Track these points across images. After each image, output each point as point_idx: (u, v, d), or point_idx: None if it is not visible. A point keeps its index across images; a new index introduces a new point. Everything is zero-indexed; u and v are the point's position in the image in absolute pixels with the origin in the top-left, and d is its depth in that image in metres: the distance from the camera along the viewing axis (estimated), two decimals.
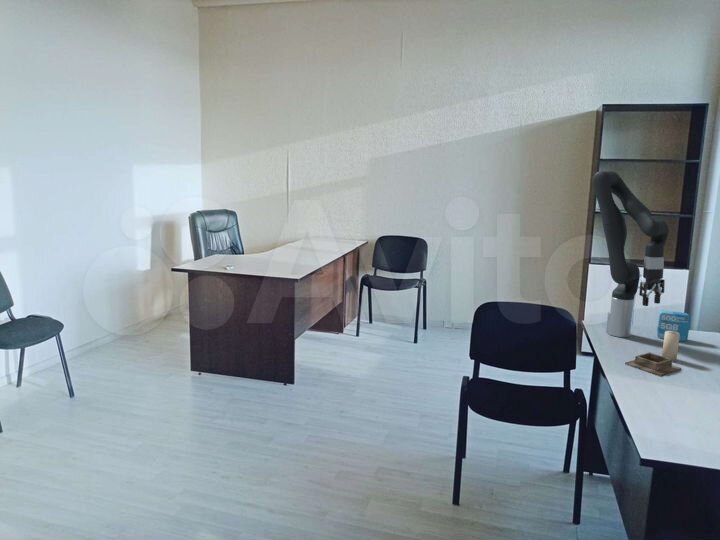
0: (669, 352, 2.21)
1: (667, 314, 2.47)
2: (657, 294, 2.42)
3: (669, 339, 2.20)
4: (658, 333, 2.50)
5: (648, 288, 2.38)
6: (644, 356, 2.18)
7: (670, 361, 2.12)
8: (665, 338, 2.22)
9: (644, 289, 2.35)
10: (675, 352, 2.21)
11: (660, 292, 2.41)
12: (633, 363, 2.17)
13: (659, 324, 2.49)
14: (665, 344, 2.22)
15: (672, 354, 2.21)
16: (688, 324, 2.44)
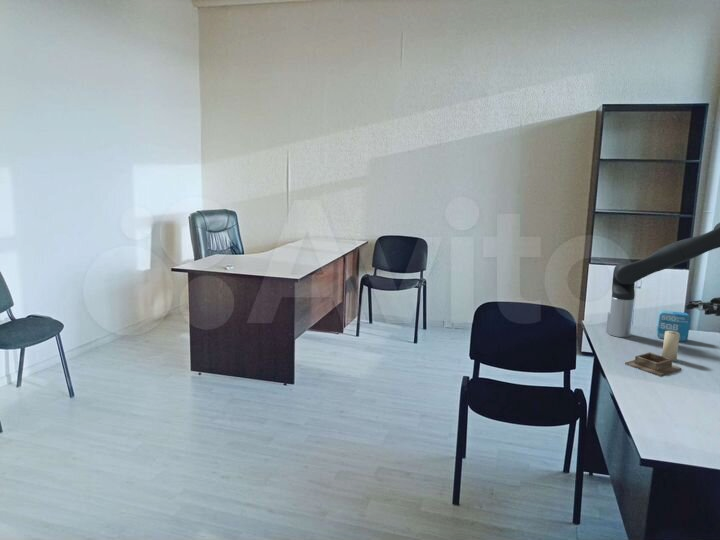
0: (669, 352, 2.21)
1: (667, 314, 2.47)
2: (694, 306, 2.29)
3: (669, 339, 2.20)
4: (658, 333, 2.50)
5: None
6: (644, 356, 2.18)
7: (670, 361, 2.12)
8: (665, 338, 2.22)
9: None
10: (675, 352, 2.21)
11: (694, 308, 2.30)
12: (633, 363, 2.17)
13: (659, 324, 2.49)
14: (665, 344, 2.22)
15: (672, 354, 2.21)
16: (688, 324, 2.44)
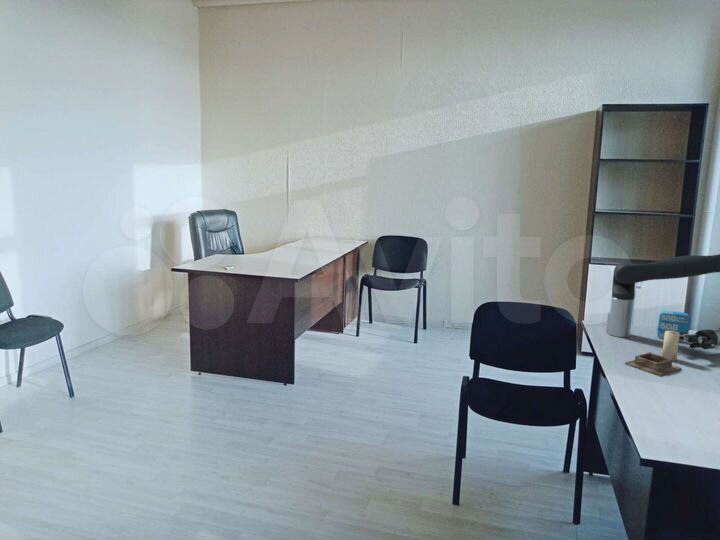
0: (669, 352, 2.21)
1: (667, 314, 2.47)
2: (679, 338, 2.30)
3: (669, 338, 2.20)
4: (658, 333, 2.50)
5: None
6: (644, 356, 2.18)
7: (670, 361, 2.12)
8: (665, 338, 2.22)
9: (709, 347, 2.21)
10: (675, 352, 2.21)
11: (680, 340, 2.31)
12: (633, 363, 2.17)
13: (659, 324, 2.49)
14: (665, 344, 2.22)
15: (672, 354, 2.21)
16: (688, 324, 2.44)
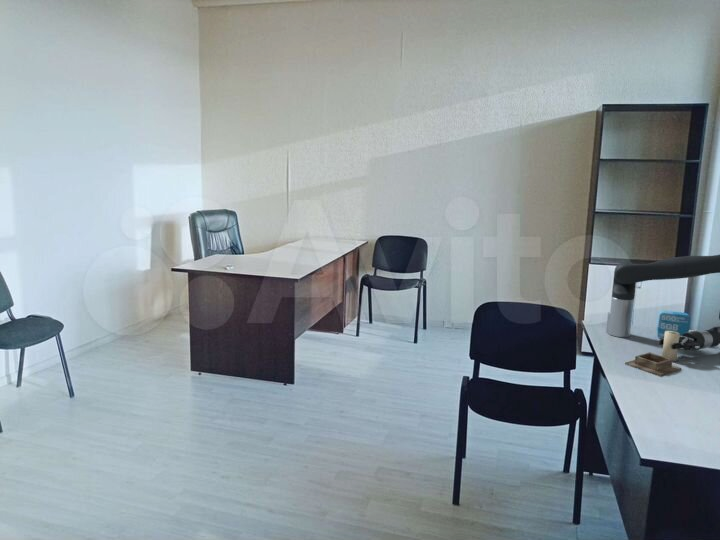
0: (669, 352, 2.21)
1: (667, 314, 2.47)
2: None
3: (669, 339, 2.20)
4: (658, 333, 2.50)
5: (685, 344, 2.22)
6: (644, 356, 2.18)
7: (670, 361, 2.12)
8: (665, 338, 2.22)
9: (692, 349, 2.19)
10: (675, 352, 2.21)
11: None
12: (633, 363, 2.17)
13: (659, 324, 2.49)
14: (665, 344, 2.22)
15: (673, 354, 2.21)
16: (688, 324, 2.44)
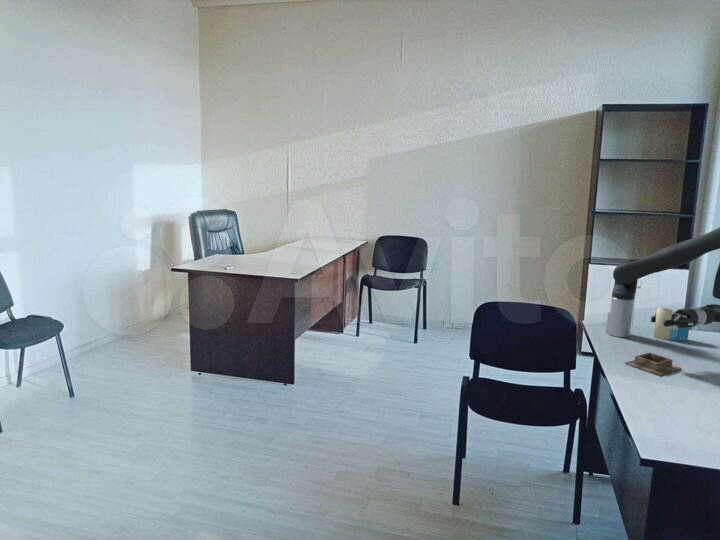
0: (662, 329, 2.12)
1: None
2: None
3: (661, 315, 2.11)
4: None
5: (678, 321, 2.13)
6: (644, 356, 2.18)
7: (670, 361, 2.12)
8: (657, 315, 2.13)
9: (686, 326, 2.10)
10: (668, 329, 2.12)
11: None
12: (633, 363, 2.17)
13: None
14: (657, 321, 2.13)
15: (665, 331, 2.12)
16: None
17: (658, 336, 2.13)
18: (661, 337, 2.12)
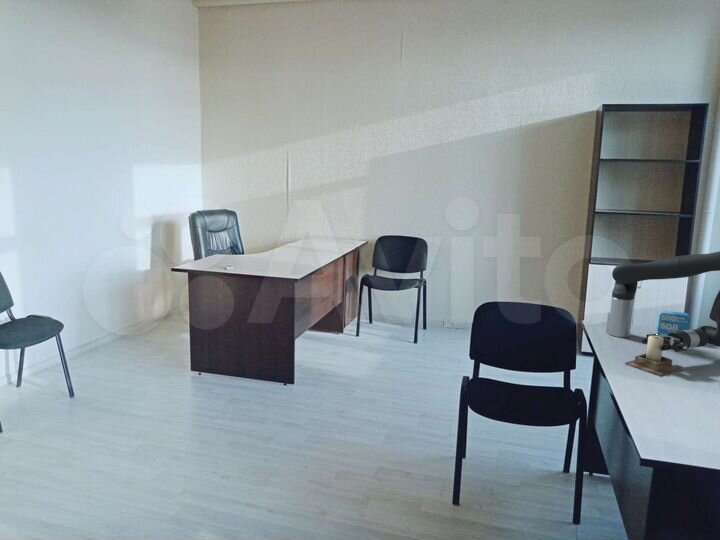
0: (653, 358, 2.12)
1: (667, 314, 2.47)
2: None
3: (653, 344, 2.12)
4: (658, 333, 2.50)
5: None
6: (644, 356, 2.18)
7: (670, 361, 2.12)
8: (648, 343, 2.13)
9: (681, 350, 2.09)
10: (659, 358, 2.12)
11: None
12: (633, 363, 2.17)
13: (659, 324, 2.49)
14: (649, 349, 2.13)
15: (656, 360, 2.12)
16: (688, 324, 2.44)
17: None
18: None
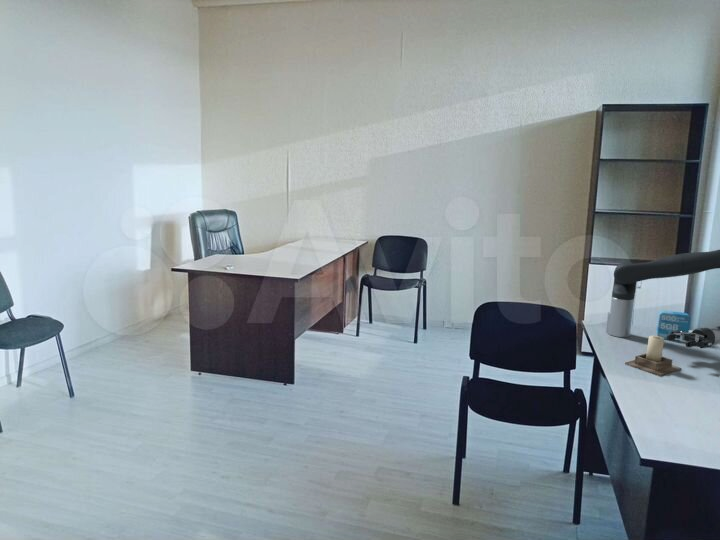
0: (653, 358, 2.12)
1: (667, 314, 2.47)
2: (675, 337, 2.22)
3: (653, 344, 2.12)
4: (658, 333, 2.50)
5: None
6: (644, 356, 2.18)
7: (670, 361, 2.12)
8: (649, 343, 2.13)
9: (706, 346, 2.14)
10: (659, 358, 2.12)
11: None
12: (633, 363, 2.17)
13: (659, 324, 2.49)
14: (649, 349, 2.13)
15: (656, 360, 2.12)
16: (688, 324, 2.44)
17: None
18: None
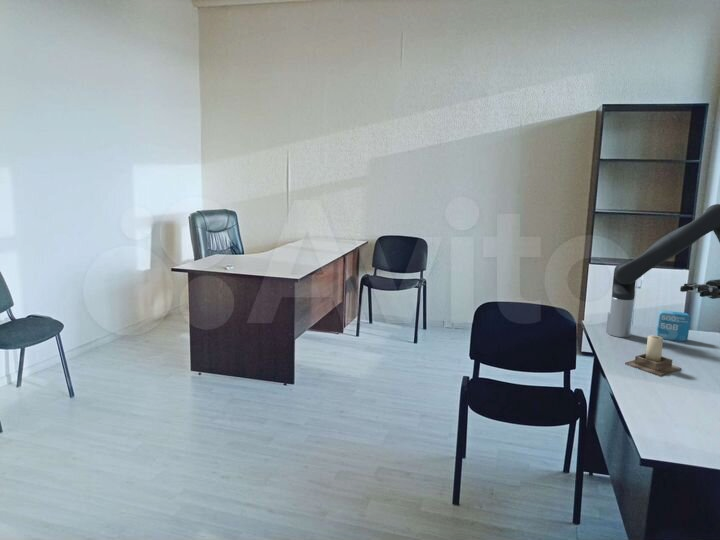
0: (653, 357, 2.12)
1: (667, 314, 2.47)
2: (688, 288, 2.23)
3: (652, 344, 2.12)
4: (658, 333, 2.50)
5: None
6: (644, 356, 2.18)
7: (670, 361, 2.12)
8: (648, 343, 2.13)
9: None
10: (659, 357, 2.12)
11: None
12: (633, 363, 2.17)
13: (659, 324, 2.49)
14: (648, 349, 2.13)
15: (656, 359, 2.12)
16: (688, 324, 2.44)
17: None
18: None
